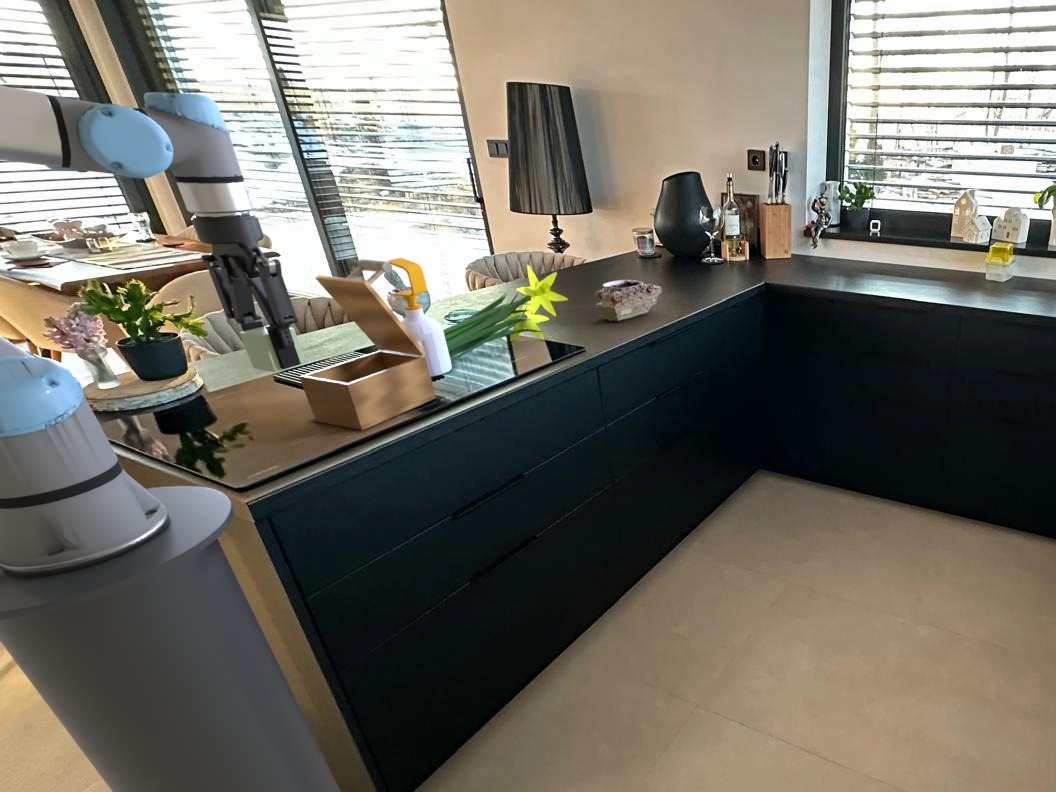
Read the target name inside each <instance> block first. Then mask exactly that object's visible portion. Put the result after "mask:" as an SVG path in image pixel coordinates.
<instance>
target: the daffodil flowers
mask: <svg viewBox="0 0 1056 792" xmlns="http://www.w3.org/2000/svg"><path fill="white" fill-rule="evenodd" d="M526 267H527V269H526V270H527V277H528V281H529V285H530V286H522V287H518V288H516V291H517V292H515V295H514V296H513V298H512V299H511V300H506V303H505V304H502V303H503V302H504V301H505V299H506V297H507V296H508V293H509V290H510V289H509V288H508V289H507V290H506V291H505V292H504V293H503V295H501V296H500V297H499V298H498V299H496V300H495V301H493V302H492V303H490V304H488V305H487V306H485V307H484V308H482V309H481V310H479V311H477V312H475V313H473V314H472V315H470V316H469V317H467V318H465V319H463V320H462V321H460V322H458V323H456V324H453V325H451V326H448V327H446V328H443V332H444V336H445V340H446V344H447V348H448V352H449V356H450V360H451V363H452V362H453V361H455V360H457V359H459V358H461V357H463V356H465V355H467V354H468V353H470V352H473V351H474V350H476V349H477V348H479V347H481V346H483V345H484V344H487V343H490V342H493V341H495V340H499V339H501V338H504V337H508V336H510V337H509V342H513V341H514V340H515V339H516V338H517V337H518V336H519V335H520V334H521V333H523V332H531V333H532V334H533V335H535V336H536V337H538V338H540V339H541V340H545V337H544V334H543V331H542V330H541V329H540V327H539V326H538V325H537V324H538V323H543V322H545V321H549V320H550V318H549V317H548V316H545V315H542V314H536V312H537V311H538V309H539V307H540V306H542V307H543V309H544V310H545V311H546V312H547V313H549V314H550V315H552V316H554V317H557V314H556V311H555V309H554V306H553V305H552V302H565V301H568V300H569V298H567V297H566V296H564V295H562V294H560V293H557V292H555V291H552V290H551V287H552V285H553V284H554V282H555V279H556V277H557V274H558V272H557V271H555V272H552V273H551V274H548V276H546V277H545V278H543V279H542V280H540V281H539V279H538V277H537V275H536V274H535V272H534V270H533V269H532V267H531V266H530V265H529V264H528V263H527V264H526ZM519 293H521V294H522V295H521V296H520V298H519V299H517V300H516V298H517V296H518V294H519ZM523 294H524V295H526V296H524V295H523ZM501 304H502V305H501ZM520 306H521V308H520Z"/></svg>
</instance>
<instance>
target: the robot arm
mask: <svg viewBox="0 0 1056 792" xmlns="http://www.w3.org/2000/svg"><path fill="white" fill-rule="evenodd" d="M143 100H144V107H129V106H125V105H121V104H116V103H109V102H108V103H107V102H106V103H98V102H93V101H88V100H82V99H77V98H72V97H66V96H61V95H60V96H59V95H52V94H46V93H43V92H39V91H33V90H27V89H22V88H17V87H11V86H6V85H0V161H6V162H15V163H23V164H33V165H40V166H45V167H47V168H48V169H50V170H53V171H55V172H77V173H88V172H93V173H101V174H102V173H103V174H110V175H111V174H112V175H118V176H120V177H124V178H130V179H131V178H132V179H149V178H152V177H155V176H157V175H160V174H162V173H163V172H165V171H166V170H167V171H168V170H170V171H171V172H172V174H173V176H174V178H175V179H174V180H175V181H176V185H177V187H178V190H179V192H180V195H181V198H182V200H183V202H184V206H185V209H186V210H187V212H189V213H192V214H194V215H193V216H192V217H191V223H192V225H193V228H194V231H195V233H196V235H197V238H198V240H199V241H200V242H201V243H202V244H206V245H211V251H212V253H208V254H201V256H200V258H201V260H202V262H203V264H204V265H205V267H206V269H207V271H208V272H209V275H210V278H211V280H212V283H213V285H214V289H215V292H216V293H217V296H218V298H219V301H220V304H221V307H222V309H223V312H224V314H225V316H226V318H227V319H229V320H232V319H233V320H234V321H235V322H236V324H238V325H240V327H241V329H242V332H243V331H248V330H252V329H256V328H260V327H264V326H265V325H264V323H263V321H262V316H260V315H258V314H257V312H256V307H255V302H256V304H257V305H258V308H259V309H260V311H261V313H262V315H263V316H264V318H265V321H266V322H267V324H268V325H269V326H268V325H267V326H268V327H265V329H266V330H267V332H268V334H269V337H270V340H271V342H272V345H273V348H274V351H275V353H276V356H277V359H278V362H279V364H280V367H281V369H285V370H288V369H291V368H294V367H298V366H301V365H302V364H301V363H300V360H299V357H298V354H297V351H296V348H295V345H294V341H293V338H292V335H291V332H290V329H289V327H291V325H293V324H296V323H298V321H299V320H298V318H297V314H296V311H295V309H294V306H293V304H292V300H291V297H290V294H289V292H288V289H287V286H286V282H285V280H284V277H283V273H282V264H281V262H280V260H279V259H277V258H273V259H270V258H268V257H266V256H265V255H264V254H265V253H264V252H263V251H262V250H261V247H260V246H259V244H258V243H259V241H262V240H263V239H264V238H265V234H264V232H263V229H262V227H261V223H260V221H259V217H258V215H256V214H255V213H251V211H253V210H254V208H255V207H254V204H253V202H252V199H251V196H250V191H249V189H248V188H247V185H246V182H245V179H244V175H243V173H242V170H241V166H240V163H239V161H238V158H237V154H236V151H235V147H234V145H233V141H232V138H231V132H230V130H229V129H228V127H227V125H226V122H225V120H224V117H223V116H222V112H221V111H220V108H219V106H218V104H217V102H216V101H215V100H214V99H212V98H211V97H209V96H208V95H204V94H196V93H180V92H179V93H177V92H157V91H155V92H154V91H152V92H151V91H150V92H149V91H148V92H146V93H145V94H144V95H143ZM254 300H255V301H254ZM300 364H301V365H300ZM297 365H298V366H297ZM293 366H294V367H293ZM290 367H291V368H290ZM287 368H288V369H287ZM146 489H147V488H145V487H144V486H143V485H141V484H140V483H139V482H137V481H136V480H135V479H134V478H133V477H131V476H130V475H129V474H128V473H127V472H126V471H125V468H124V467H123V465H122V464H121V462H120V460H119V457H118V456H117V454H116V452H115V450H114V448H113V446H112V445H111V443H110V440H109V439H108V437H107V436H106V433H105V432H104V429H103V428H102V426H101V424H100V422H99V421H98V419H97V417H96V415H95V413H94V411H93V409H92V408H91V406H90V403H89V402H88V400H87V398H86V396H85V395H84V387H83V386H82V384H81V381H79V379H78V378H77V377H76V376H74V375H73V373H72V372H71V370H70V369H69V368H68V367H67V366H65V364H63V363H61V362H59V361H57V360H54V359H51V358H48V357H43V356H39V355H37V354H34V353H31V352H30V351H27V350H24V349H22V348H20V347H19V346H18V345H16V344H14V343H13V342H11V341H9V340H8V339H6V338H4V337H3V336H2V335H0V568H1V569H2V571H3V572H4V573H5V574H8V575H11V576H15V577H43V576H51V575H57V574H63V573H68V572H72V571H76V570H80V569H84V568H88V567H91V566H94V565H98V564H101V563H104V562H106V561H109V560H112V559H115V558H117V557H120V556H122V555H124V554H127V553H129V552H131V551H133V550H135V549H137V548H139V547H141V546H143V545H145V544H146V543H148V542H150V541H151V540H153V539H154V538H156V537H157V536H158V535H160V534H161V533H162V532H163V531H164V530H165V529H166V528H167V527H168V525H169V523H170V520H171V518H170V515H169V514H168V512H167V510H166V508H165V506H164V505H163V504H162V503H161V502H160V501H159V500H158V499H157V498H156V497H154V496H153V495H152V494H151V493H150V492H148V491H147V490H146Z"/></svg>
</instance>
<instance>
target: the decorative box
mask: <svg viewBox="0 0 1056 792" xmlns="http://www.w3.org/2000/svg"><path fill="white" fill-rule="evenodd" d="M662 291H663V290H662V286H658V285H655V284H653V283H648V284H646V283H644V282H643V281H641V280H638V279H618V280H613V281H608V282H605V283H603V284H602V289H601V290H597V291H595V295H594V296H595V298H596V299H598V300H601V302H598V303H596V304H595V306H596V309H597V311H598V313H599V316H600V318H601V319H603V320H608V321H609V322H613V321H615V322H619V321H623V320H629V319H632V318H635V317H638V316H641V315H644V314H648V313H649V310H650V308H651V307H652V306H655V305H656V304H657V302H658V301H657V300H658V298H659V296H660V294H662V293H663V292H662Z"/></svg>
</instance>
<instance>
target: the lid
mask: <svg viewBox="0 0 1056 792" xmlns="http://www.w3.org/2000/svg"><path fill="white" fill-rule="evenodd" d="M357 266H358V267H356V268H355V269H354V270H353V271H352V272H351V273H350V274H349V275H348V276H347V277H341V276H339V277H338V276H331V275H321V274H318V275H316V277H314V278H315V280H316V281H317V282H318V283H319V284H320V285H321V287H323V288H324V290H325V291H326V292H327V293H328V294H329V296H331V298H332V299H333V300H334V301H335V302H336V303H337V304H338V306H339V307H340V308H341V309H342V310H343V311H344V313H346V314H347V316H348V317H349V318H350V319H351V320H352V321H353V323H354V324H355V325H356V326H357V327H358V328H359V329H360V330H361V331H362V332H363V333H364V335H365V336H366V337H367V338H368V339H369V340H370V341H371V343H372V344H373V345H374V346H375V347H376V348H377V349H378V350H383V351H390V352H397V353H400V352H402V353H408V354H415V355H422V356H424V355H425V354H426V352H425V351H424V350H423V349H422V347H421V346H420V345H419V344H418V342H417V341H416V340H415V339H414V338H413V336H412V335H411V334H410V333H409V331H408V330H407V329H406V328H405V327H404V325H403V324H402V323H401V320H400V319H399V318H398V316H397V315H396V314H395V313H394V312H393V310H392V309H391V308H390V307H389V305H388V304H387V303H386V302H385V301H384V299H383V298H382V297H381V296H380V294H379V293H378V292H377V290H375V289H374V287H373V286H372V285H373V283H374V282H376V280H378V279H379V278H380V277H381V276H382V275H383V274H384V273H386V274H390V273H392V271H393V265H391V264H390V263H389V262H388V261H384V260H375V259H365V258H364V259H363V258H360V259H359V260H358V262H357ZM364 271H367V272H374V273H373V274H372V275H371V276H370V277H369V278H367V279H366V280H365V279H357V277H358V276H359V275H360V274H361V273H362V272H364Z"/></svg>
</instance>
